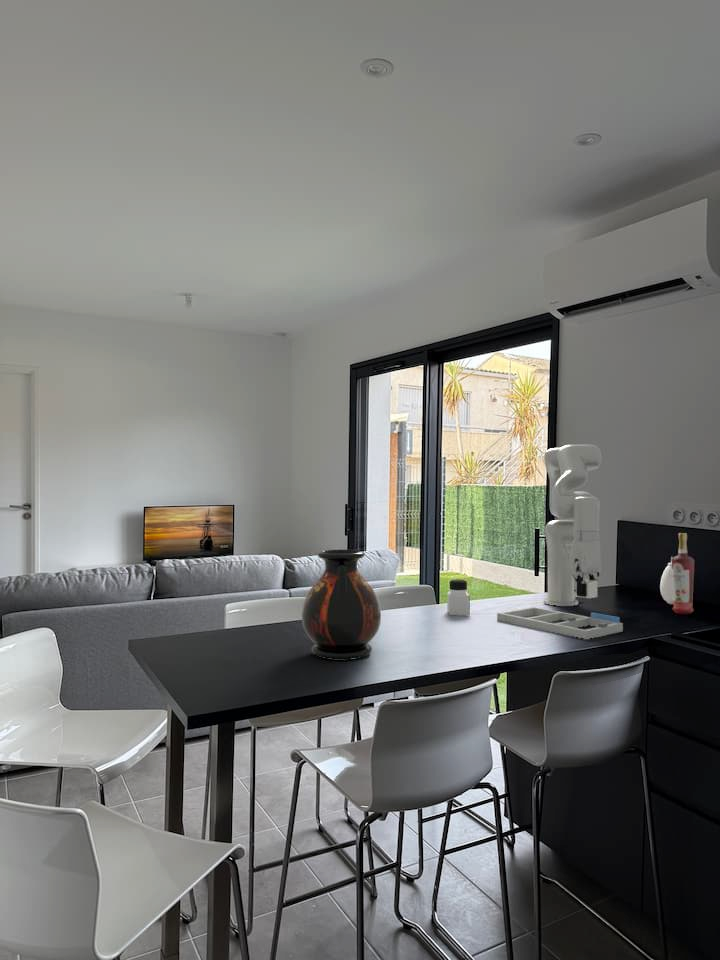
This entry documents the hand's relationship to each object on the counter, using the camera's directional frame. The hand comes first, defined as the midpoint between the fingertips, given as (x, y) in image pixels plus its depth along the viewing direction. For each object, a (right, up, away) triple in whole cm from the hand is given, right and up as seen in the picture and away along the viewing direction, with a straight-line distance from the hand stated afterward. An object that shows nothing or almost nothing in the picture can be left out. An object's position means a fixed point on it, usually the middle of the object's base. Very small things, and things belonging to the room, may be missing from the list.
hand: (586, 594), depth 218 cm
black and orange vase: (-75, -12, -26) cm, 80 cm away
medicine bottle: (-36, -12, +30) cm, 48 cm away
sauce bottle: (+47, -11, +46) cm, 67 cm away
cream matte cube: (0, -1, 0) cm, 1 cm away
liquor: (+43, -11, +28) cm, 53 cm away
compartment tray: (-7, -11, +9) cm, 16 cm away
